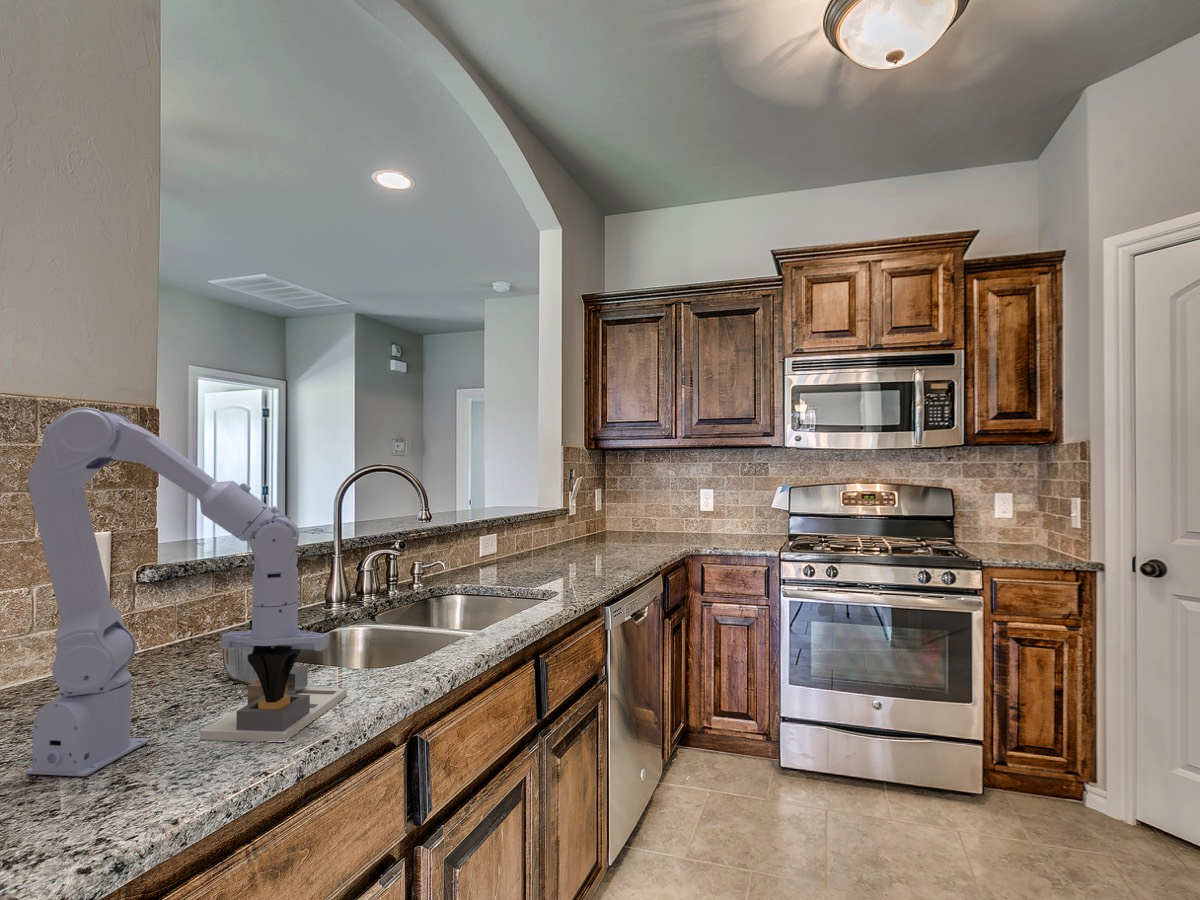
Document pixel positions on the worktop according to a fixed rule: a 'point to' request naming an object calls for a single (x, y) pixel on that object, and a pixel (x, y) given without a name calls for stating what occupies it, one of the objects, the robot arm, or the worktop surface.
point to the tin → (239, 664)
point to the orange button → (274, 703)
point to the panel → (274, 717)
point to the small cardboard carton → (257, 691)
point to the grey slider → (297, 679)
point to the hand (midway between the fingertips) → (274, 700)
